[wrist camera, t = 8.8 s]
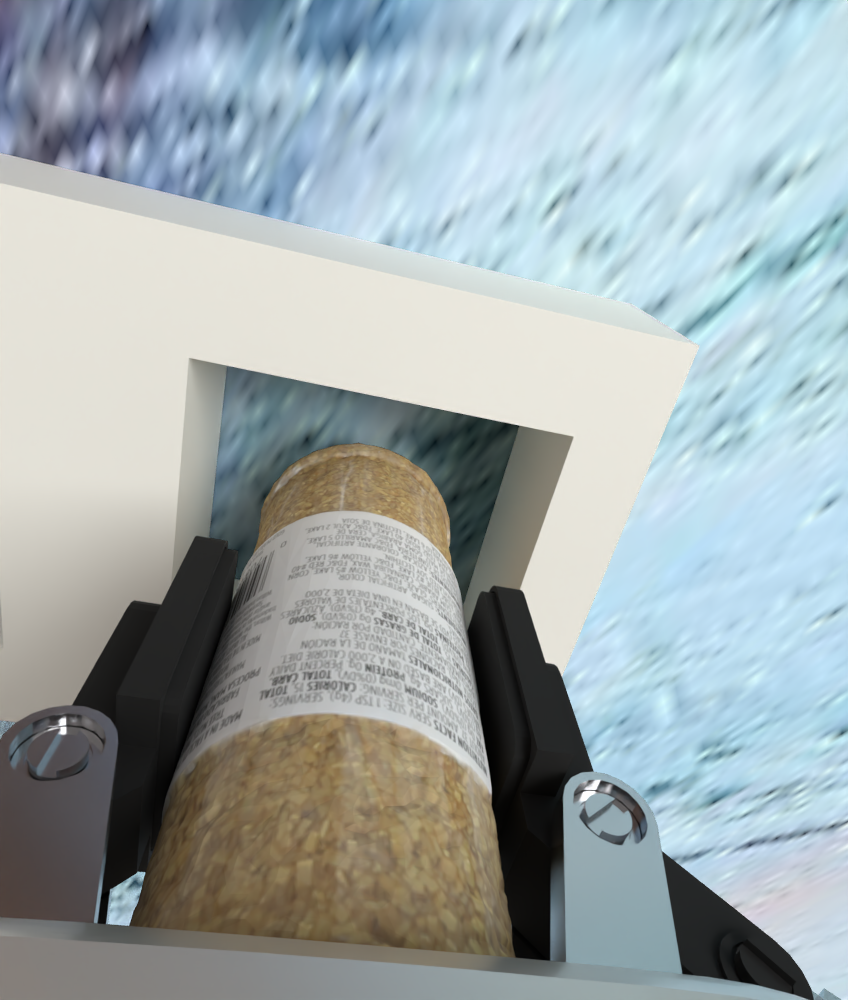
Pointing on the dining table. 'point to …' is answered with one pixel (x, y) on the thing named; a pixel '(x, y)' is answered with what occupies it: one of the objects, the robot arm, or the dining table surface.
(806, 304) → the dining table surface
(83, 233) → the condiment rack
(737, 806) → the dining table surface
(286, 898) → the sprinkles bottle
